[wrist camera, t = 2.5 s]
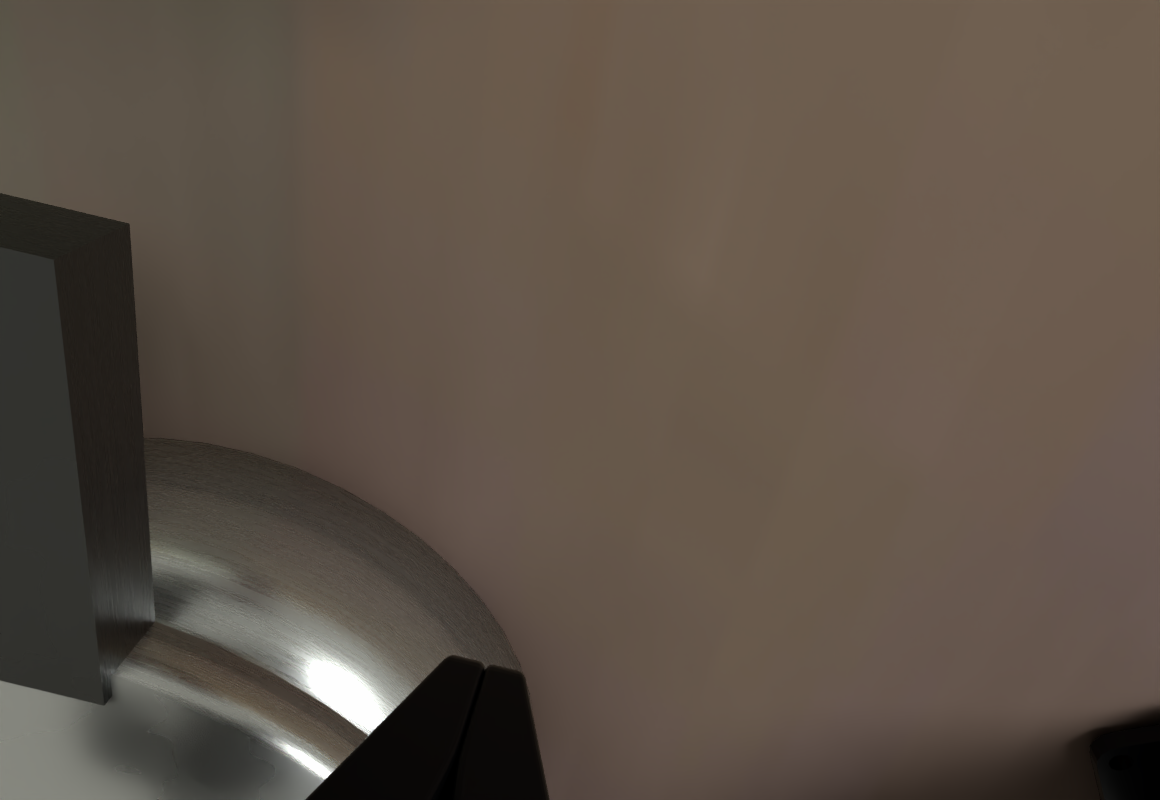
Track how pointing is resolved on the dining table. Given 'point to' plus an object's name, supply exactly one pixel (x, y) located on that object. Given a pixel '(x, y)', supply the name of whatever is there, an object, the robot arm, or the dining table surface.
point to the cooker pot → (306, 580)
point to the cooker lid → (110, 562)
